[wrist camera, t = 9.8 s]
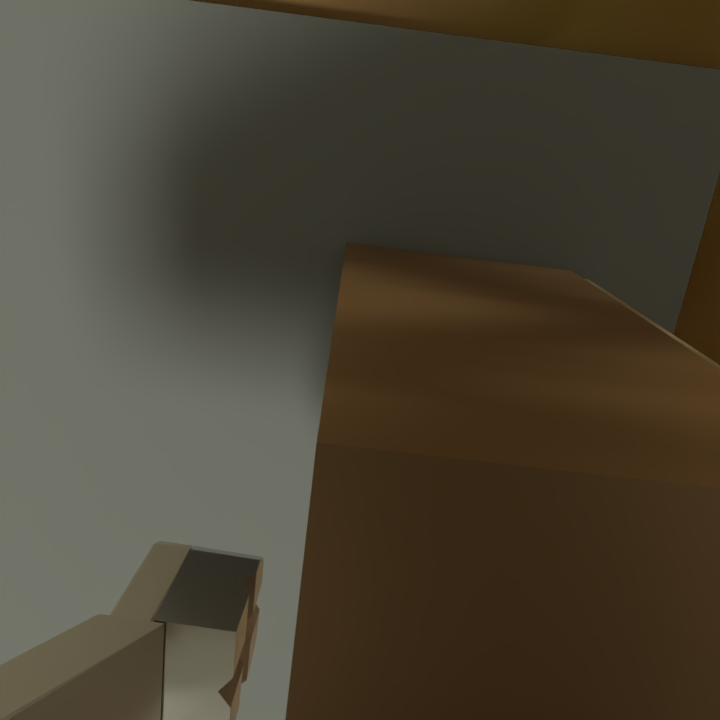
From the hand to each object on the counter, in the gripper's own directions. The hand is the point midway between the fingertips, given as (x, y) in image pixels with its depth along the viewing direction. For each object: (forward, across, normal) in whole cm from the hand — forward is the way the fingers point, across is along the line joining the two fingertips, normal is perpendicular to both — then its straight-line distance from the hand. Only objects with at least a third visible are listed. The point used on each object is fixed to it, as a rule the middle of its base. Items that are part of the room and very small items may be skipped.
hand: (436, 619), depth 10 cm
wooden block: (+4, 0, 0) cm, 4 cm away
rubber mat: (+5, +3, 0) cm, 6 cm away
